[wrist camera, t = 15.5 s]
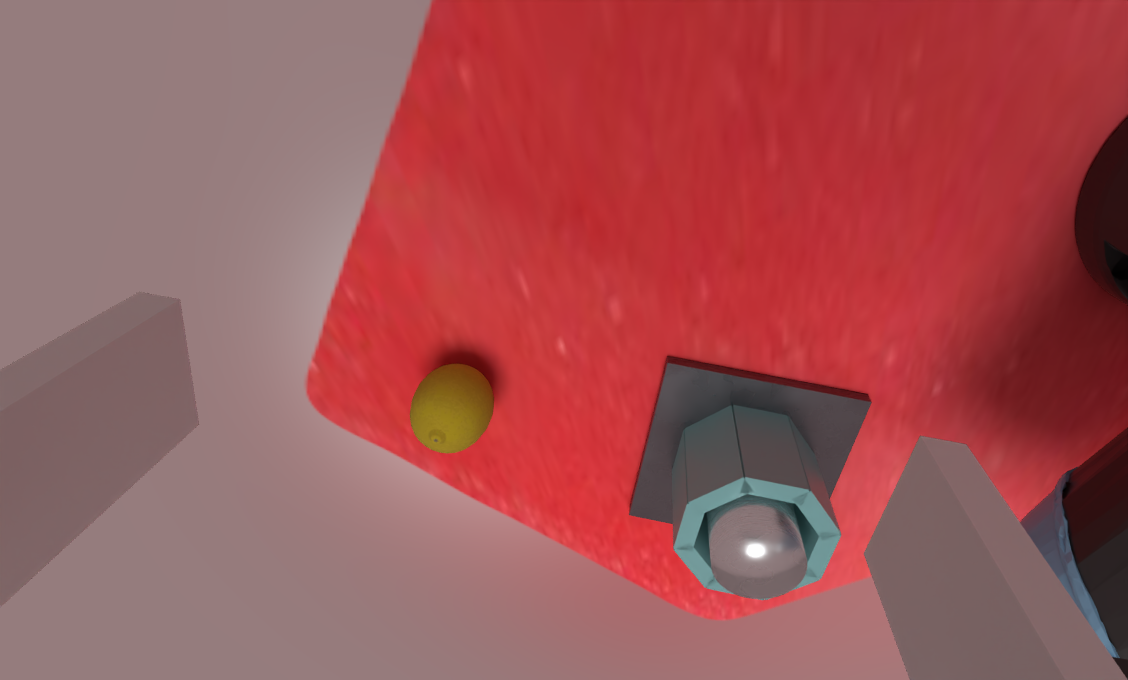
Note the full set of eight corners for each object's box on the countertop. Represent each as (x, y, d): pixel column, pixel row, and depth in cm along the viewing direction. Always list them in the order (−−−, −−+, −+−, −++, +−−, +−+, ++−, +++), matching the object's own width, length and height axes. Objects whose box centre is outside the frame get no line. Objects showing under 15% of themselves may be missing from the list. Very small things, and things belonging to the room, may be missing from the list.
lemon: (427, 397, 51) (389, 461, 44) (438, 336, 48) (399, 393, 41) (496, 417, 51) (469, 484, 44) (511, 357, 48) (485, 417, 41)
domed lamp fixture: (867, 394, 46) (922, 500, 36) (804, 542, 52) (836, 665, 43) (667, 356, 47) (668, 449, 37) (629, 506, 53) (622, 619, 43)
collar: (768, 386, 45) (787, 457, 38) (833, 481, 48) (862, 563, 41) (651, 445, 49) (649, 520, 42) (718, 530, 52) (727, 614, 45)
